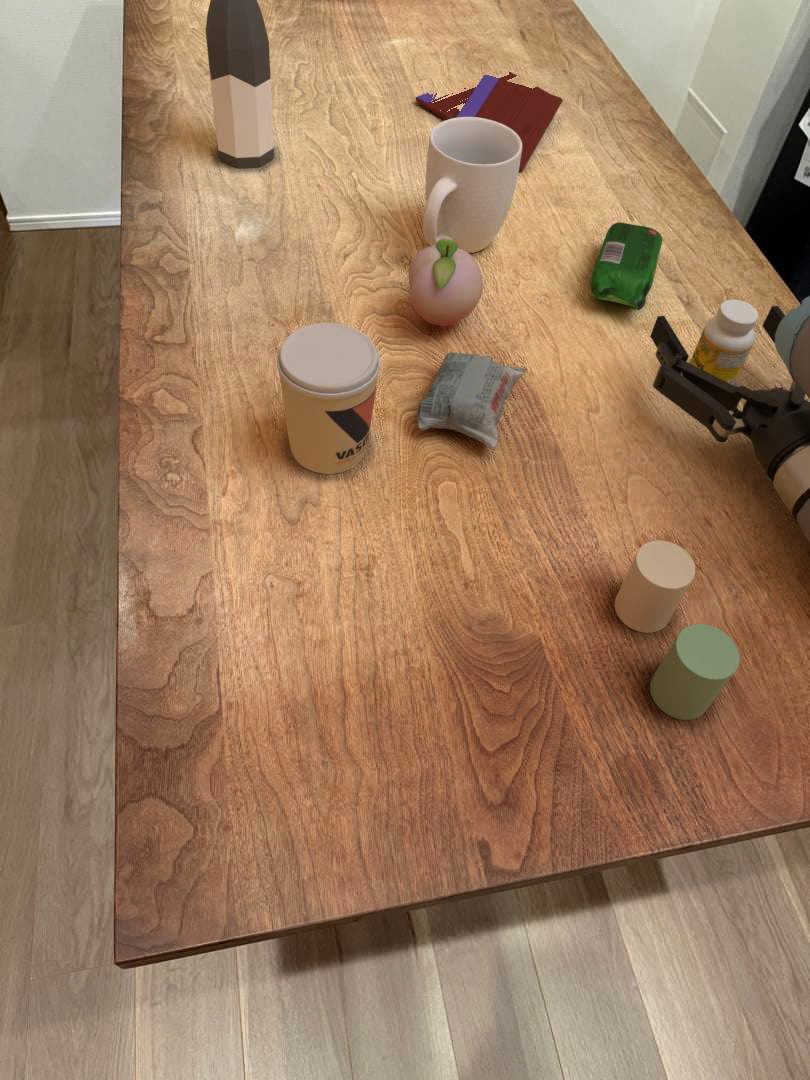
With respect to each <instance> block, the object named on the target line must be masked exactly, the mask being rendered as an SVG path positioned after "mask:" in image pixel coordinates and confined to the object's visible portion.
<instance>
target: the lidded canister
mask: <svg viewBox="0 0 810 1080" xmlns="http://www.w3.org/2000/svg"><path fill="white" fill-rule="evenodd" d="M375 345H376V344H375V343H374V342H373V341H372V339H371V338H370V337H369V336H367V334H365V333H364V332H363V331H360V330H359V329H357V328H355V327H353V326H350V325H347V324H343V323H336V322H318V323H312V324H308V325H305V326H303V327H300V328H298V329H296V330H295V331H293V332H292V333H290V334H289V335H288V336H287V337H286V338H285V340H284V341H283V342H282V344H281V346H280V347H279V350H278V353H277V355H276V356H277V358H276V366H277V370H278V373H279V379H280V381H279V382H280V387H281V394H282V402H283V409H284V416H285V424H286V430H287V436H288V437H287V438H288V442H289V448H290V453H291V454H292V456H293V458H294V460H295V461H296V462H297V463H298V464H299V465H300V466H302V467H303V468H305V469H307V470H309V471H311V472H313V473H317V474H324V475H336V474H342V473H345V472H347V471H348V472H349V470H352V469H353V468H355V467H356V466H358V464H360V463H361V461H362V460H363V458H364V457H365V455H366V452H367V448H368V443H369V438H370V431H371V425H372V420H373V419H372V418H373V414H374V413H373V411H374V405H375V398H376V392H377V384H378V376H379V374H380V370H381V356H380V352H379V351H378V349H377V347H376V346H375Z"/></svg>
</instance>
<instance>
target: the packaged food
mask: <svg viewBox="0 0 810 1080" xmlns="http://www.w3.org/2000/svg"><path fill="white" fill-rule="evenodd" d="M526 369H527V368H525V367H522V366H511V365H504V364H501V363H500V362H496V361H494V360H493V357H492V356H486V355H480V354H479V355H478V354H471V353H464V352H463V353H462V352H453V351H449V352H448V353H447V354H446V355H445V356H444V359H443V360H442V362H441V364H440V367H439V369H438V370H437V373H436V375H435V377H434V380H433V381H432V383H431V385H430V387H429V389H428V391H427V393H426V395H425V396H424V397H423V399H422V400H420V402H419V404H418V409H417V425H418V429H419V430H420V431H427V429H430V428H433V429H441V430H442V429H445V430H452V431H455V432H457V433H461V434H463V435H467V436H468V437H470V438H473V439H475V440H477V441H479V442H480V443H483V444H484V445H485V447H488V448H489V449H491V450H492V451H494V450H495V449H496V448H497V447H498V445H499V443H500V442H499V430H498V428H497V425H498V423H499V420H500V418H501V415H502V413H503V411H504V405H505V404H504V403H505V401H506V400H507V399H508V398H509V396H510V395H511V393H512V390H513V388H514V386H515V385H516V384H517V382H518V381H519V380H520V379H521V378H522V377H523V376H524V375H525V374H526Z"/></svg>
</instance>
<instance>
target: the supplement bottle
mask: <svg viewBox="0 0 810 1080" xmlns="http://www.w3.org/2000/svg"><path fill="white" fill-rule="evenodd" d="M758 319H759V312H758V310H757V309H756V308H755V306H753V305H751V304H750V303H748V302H746V301H743V300H739V299H727V300H724V301H723V302H722V303H721V304H720V306H719V308H718V310H717V312H716V315H715V316H713V317H711V318H710V319H708V321H707V322H705V325H704V327H703V329H702V332H701V334H700V337H699V338H698V341H697V344H696V346H695V348H694V351H693V352H692V353H693V354H692V355H691V358H690V360H689V363H690V364H692V365H694V366H696V367H698V368H700V369H702V370H704V371H706V372H708V373H710V374H712V375H714V376H716V377H718V378H720V379H722V380H724V381H726V382H728V383H730V384H732V385H734V386H735V383H736V381H737V379H738V377H739V375H740V372H741V371H742V369H743V366H744V364H745V362H746V360H747V358H748V356H749V355H750V352H751V350H752V348H753V346H754V344H755V340H756V332H755V331H754V330H755V329H754V328H755V327H756V324H757V322H758Z"/></svg>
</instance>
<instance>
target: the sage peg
mask: <svg viewBox="0 0 810 1080" xmlns="http://www.w3.org/2000/svg"><path fill="white" fill-rule="evenodd" d="M740 658H741V657H740V651H739V648H738V646H737V645H736V642H735V641H734V640H733V639H732V637H730V636H729V635H728V634H727V633H726V632H725V631H724V630H722V629H720V628H718V627H715V626H713V625H710V624H705V623H695V624H691V625H688V626H686V627H684V628H682V630H681V631H680V632H679V633H678V634H677V636H676V638H675V640H673V642H672V644H671V646H670V648H669V649H668V650H667V653H666V654H665V656H664V657H663V659H662V661H661V662H660V664H659V666H658V667H657V669H656V671H655V672H654V673H653V676H652V677H651V679H650V683H649V690H650V695H651V698H652V700H653V702H654V704H655V705H656V706H657V707H658V709H660V710H661V711H662V712H663V713H664V714H665V715H667V716H669V717H671V718H674V719H676V720H681V721H691V720H695V719H697V718H700V717H701V716H702V715H704V713H706V711H707V710H708V708H709V707H710V706H711V704H712V703H713V702H714V701H715V699H716V698H717V697H718V696H719V694H720V693H721V692H722V690H723V689H724V687H725V686H726V685H727V684H728V682H729V681H730V680H731V678H732V677H733V676H734V674H735V673H736V671H737V670H738V669H739V666H740V661H741V659H740Z"/></svg>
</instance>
